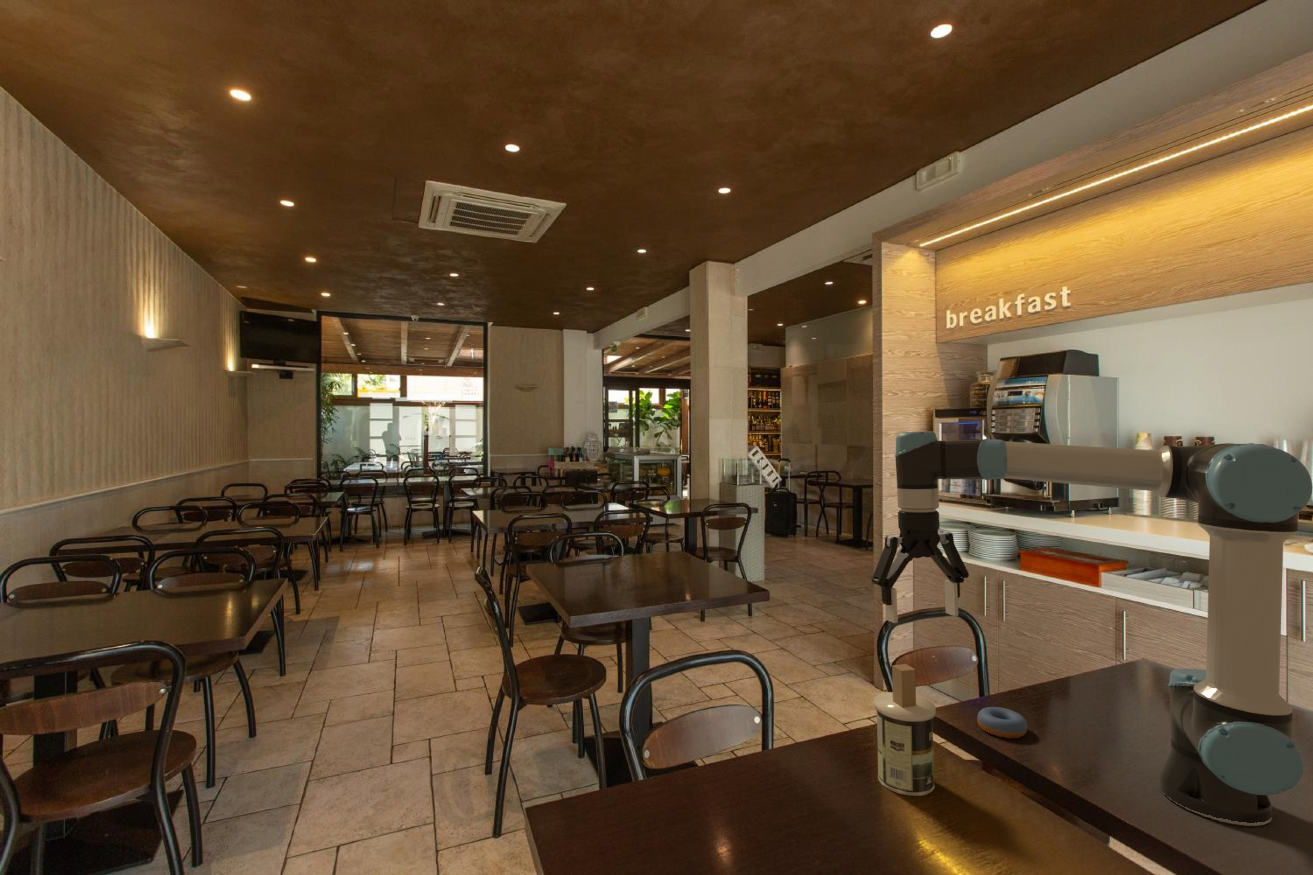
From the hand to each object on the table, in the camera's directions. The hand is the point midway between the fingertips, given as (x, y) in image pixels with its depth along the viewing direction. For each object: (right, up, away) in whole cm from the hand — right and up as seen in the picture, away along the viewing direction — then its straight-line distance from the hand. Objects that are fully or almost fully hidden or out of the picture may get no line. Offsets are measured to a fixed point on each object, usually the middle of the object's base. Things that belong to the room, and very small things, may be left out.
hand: (922, 617), depth 122 cm
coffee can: (-4, -31, -2) cm, 32 cm away
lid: (-4, -17, -2) cm, 18 cm away
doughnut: (+26, -31, +19) cm, 45 cm away
